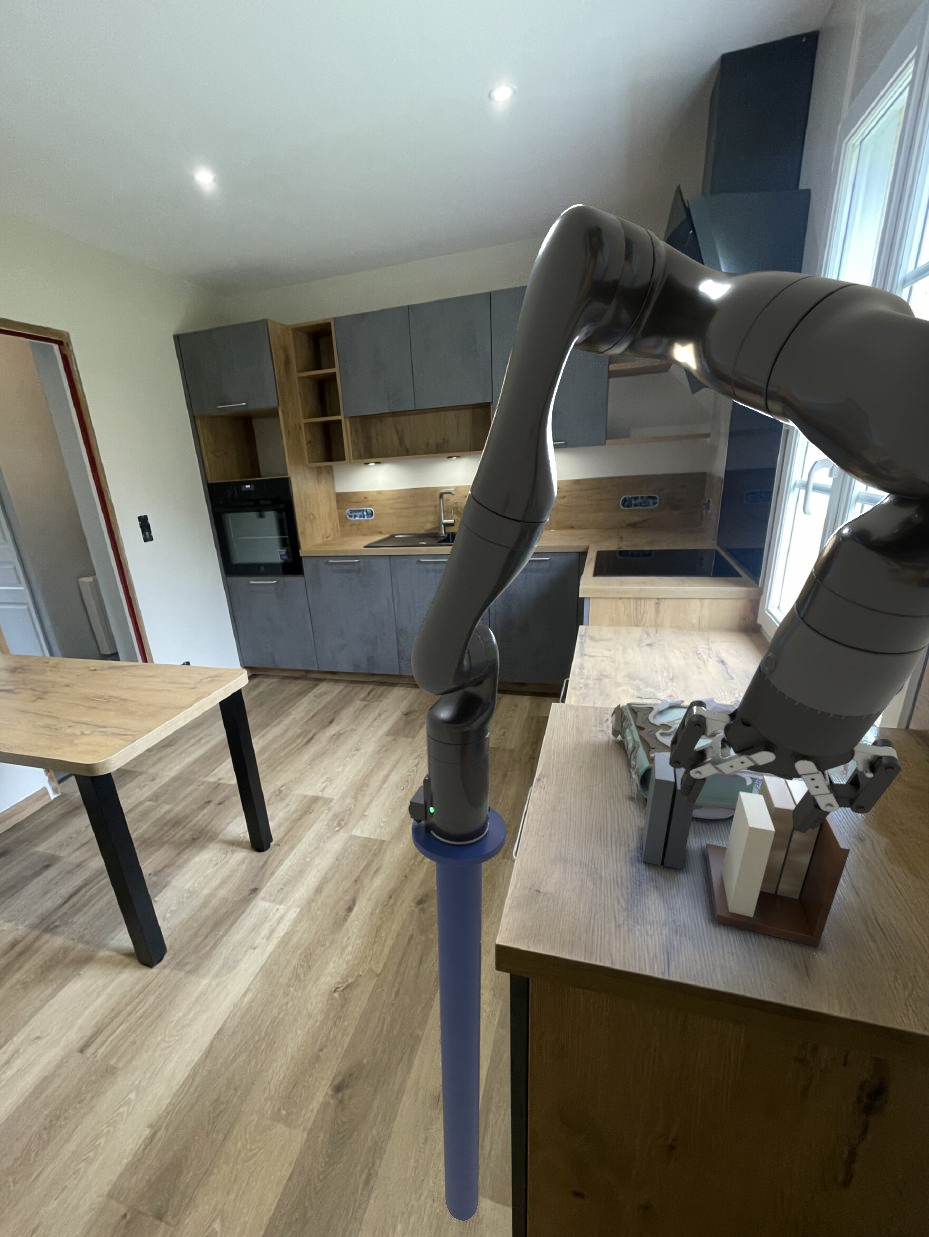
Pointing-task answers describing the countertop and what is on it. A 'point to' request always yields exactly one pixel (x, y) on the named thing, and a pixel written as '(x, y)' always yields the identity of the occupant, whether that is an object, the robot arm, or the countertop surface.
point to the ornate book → (653, 732)
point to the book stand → (787, 871)
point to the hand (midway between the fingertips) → (741, 808)
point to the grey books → (666, 816)
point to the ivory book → (747, 853)
